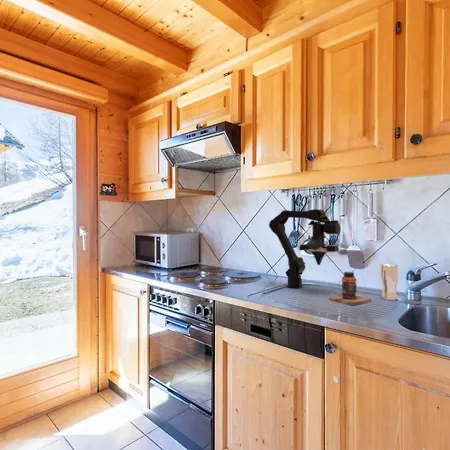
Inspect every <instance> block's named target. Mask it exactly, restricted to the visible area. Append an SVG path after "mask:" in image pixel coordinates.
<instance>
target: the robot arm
mask: <svg viewBox="0 0 450 450" xmlns="http://www.w3.org/2000/svg"><path fill="white" fill-rule="evenodd" d="M289 218H294V219H295V218H297V219H307V220H310V222H309V223H308V226H312V235H311V237H310V240H309V241H307V243H303V244H300V246H299V251H306V250H308V251H309V250H310V251H309V252H310V253H311V254H313V256H314V258H315V261H316V264H317V266H321V263H322V260H323V259H324V256H325V254H326V253H329V252H330V253H335V252H340V248H339V246H338V245H335V244H333V245H331V244H330V245H326V244H327V243H326V244H325V239H326V235H340V233H341V229H342V228H341V225H340V223H339V220H330V219H329V217H328V216H327V215H326V211H325V210H324V209H319V208H315V209H308V210H305V211H304V210H287V209H286V210H284V209H283V210H282V211H281V212H280V213H279V214H278V215H276V216H275V217H273V219H271V220H270V221H269V223H268V227H269V228H270V230H271V232H273V234H274V235H276V236H277V238H278V241H279V243H280V246H281V247H282V249H283V251H284V253H285V254H286V257H287V259H288V261H287V262H288V267H289V268H288V269H287V270H286V271H285V275H286V277H287V285H286V288H291V289H299V288H303V285H302V283H303V281H302V280H303V279H302V276H301V275H303V273H304V271H306V270H305V269H306V262H305V261H304V260H303V259H304V258H303V257H301V256H300V257H299V256H298V255H297V253H296V251H295V250H294V247H293V246H292V243H291V242H290V240H289V238H288V235H287V234H286V233H287V232H286V227H285V225H286V223H287V222H288V220H289ZM325 234H326V235H325Z"/></svg>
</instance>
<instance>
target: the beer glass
mask: <svg viewBox="0 0 450 450" xmlns="http://www.w3.org/2000/svg"><path fill="white" fill-rule="evenodd" d="M379 272H380V273H379V274H380V280H381V287H382V294H381V298H382V299H383V300H390V301H395V300H396V301H397V300H398V296H397V286H398V280H399V269H398V264H392V263H383V264H380V271H379Z"/></svg>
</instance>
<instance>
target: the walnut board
mask: <svg viewBox="0 0 450 450" xmlns="http://www.w3.org/2000/svg"><path fill="white" fill-rule="evenodd" d="M329 300H330V301H334V302H338V303H340V304H343V305H349V306H351V307H354V306H358V305H362V304H367V303H370V302H372V299H371V298H369V297H364V296H360V295H357V298H356V299H346V298H343V297H342V294H337V295H334V296H333V295H332V296H330V297H329Z"/></svg>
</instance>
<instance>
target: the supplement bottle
mask: <svg viewBox="0 0 450 450" xmlns="http://www.w3.org/2000/svg"><path fill="white" fill-rule="evenodd" d="M357 291H358V290H357V278H356V277H355V273H354V272H353V271H344V272H343V276H342V278H341V292H342V293H341V295H342V297H343V298H346V299H356V298H357V296H358V292H357Z"/></svg>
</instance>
